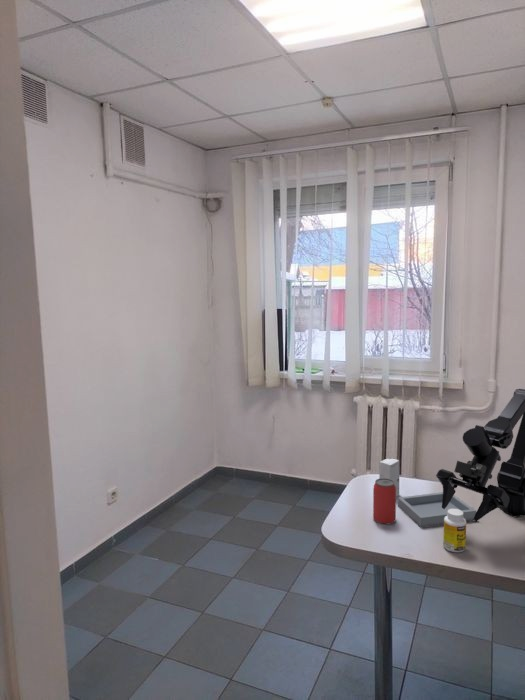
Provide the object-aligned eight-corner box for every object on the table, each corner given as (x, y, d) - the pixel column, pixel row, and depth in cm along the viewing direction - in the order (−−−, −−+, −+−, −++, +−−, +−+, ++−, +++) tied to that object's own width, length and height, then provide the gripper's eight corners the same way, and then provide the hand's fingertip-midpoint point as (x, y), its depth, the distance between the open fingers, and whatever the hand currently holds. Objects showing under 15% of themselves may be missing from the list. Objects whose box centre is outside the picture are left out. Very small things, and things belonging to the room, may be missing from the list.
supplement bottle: (457, 555, 126) (458, 518, 125) (438, 546, 131) (439, 510, 129) (469, 549, 129) (471, 512, 128) (451, 540, 134) (452, 505, 132)
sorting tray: (448, 500, 158) (448, 491, 158) (475, 520, 144) (476, 510, 144) (397, 506, 154) (397, 497, 154) (420, 527, 141) (420, 517, 140)
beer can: (399, 519, 146) (400, 481, 145) (388, 527, 141) (389, 488, 140) (380, 512, 151) (380, 475, 149) (369, 520, 146) (369, 482, 144)
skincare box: (390, 500, 159) (390, 465, 157) (378, 496, 162) (378, 461, 160) (400, 494, 163) (400, 460, 161) (388, 491, 166) (388, 457, 165)
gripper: (440, 441, 138) (416, 488, 133) (506, 459, 123) (481, 512, 118) (455, 461, 144) (432, 507, 138) (519, 481, 129) (496, 533, 124)
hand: (458, 514), depth 129 cm, fingers open, 9 cm apart
